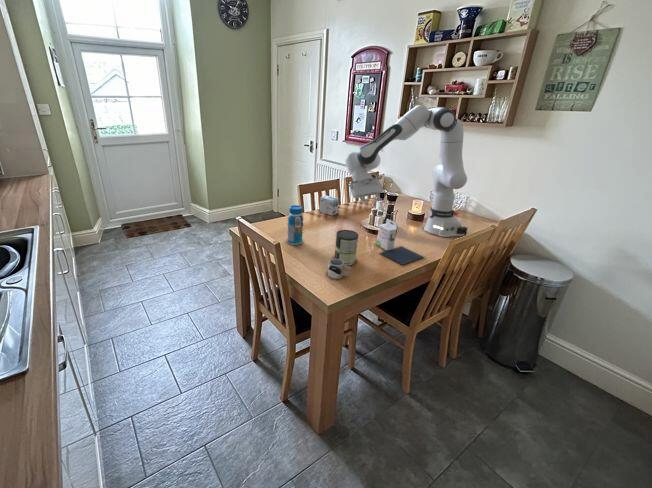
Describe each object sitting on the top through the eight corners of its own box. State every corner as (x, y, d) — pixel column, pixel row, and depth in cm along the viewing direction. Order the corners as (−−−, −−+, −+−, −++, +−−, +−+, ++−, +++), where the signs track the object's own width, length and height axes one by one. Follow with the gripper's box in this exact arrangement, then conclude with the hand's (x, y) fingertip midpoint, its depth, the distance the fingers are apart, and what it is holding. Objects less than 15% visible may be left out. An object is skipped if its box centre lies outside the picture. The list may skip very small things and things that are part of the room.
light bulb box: (337, 213, 221) (339, 198, 216) (331, 216, 216) (333, 200, 212) (325, 209, 227) (326, 194, 223) (319, 212, 223) (320, 196, 219)
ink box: (375, 244, 177) (379, 219, 171) (382, 243, 179) (386, 217, 173) (386, 251, 170) (390, 224, 164) (393, 249, 172) (398, 223, 166)
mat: (380, 253, 167) (380, 253, 167) (401, 247, 175) (401, 246, 175) (402, 265, 156) (402, 264, 156) (423, 257, 164) (423, 257, 164)
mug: (326, 277, 145) (327, 264, 142) (329, 270, 150) (331, 257, 148) (348, 281, 141) (350, 268, 139) (351, 274, 147) (353, 261, 144)
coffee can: (329, 259, 160) (332, 233, 154) (342, 253, 166) (345, 227, 161) (347, 267, 153) (350, 240, 147) (359, 260, 160) (362, 234, 154)
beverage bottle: (284, 243, 175) (285, 208, 167) (290, 237, 183) (291, 203, 174) (299, 246, 173) (301, 210, 165) (304, 240, 180) (306, 205, 172)
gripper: (351, 179, 171) (362, 202, 168) (378, 175, 181) (389, 196, 178) (344, 185, 176) (355, 207, 173) (371, 181, 187) (382, 202, 183)
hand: (372, 202), depth 175 cm, fingers open, 8 cm apart
